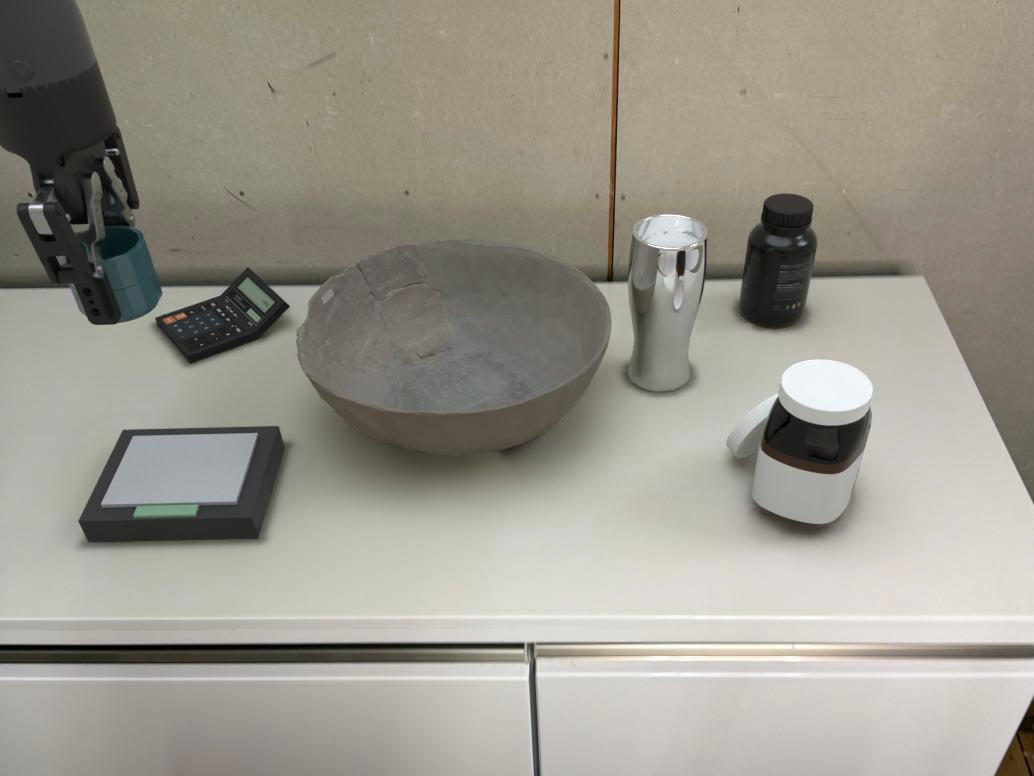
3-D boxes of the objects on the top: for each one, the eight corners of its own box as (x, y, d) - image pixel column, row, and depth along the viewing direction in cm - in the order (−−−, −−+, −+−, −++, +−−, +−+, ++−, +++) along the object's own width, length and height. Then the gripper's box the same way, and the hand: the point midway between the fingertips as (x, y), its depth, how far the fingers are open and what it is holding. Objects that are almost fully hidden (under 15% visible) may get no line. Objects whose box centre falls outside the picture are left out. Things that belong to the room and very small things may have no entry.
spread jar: (827, 551, 76) (858, 435, 68) (695, 506, 80) (709, 392, 72) (869, 465, 83) (901, 351, 75) (746, 428, 88) (764, 316, 79)
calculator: (157, 324, 103) (148, 299, 100) (257, 290, 107) (251, 265, 105) (190, 363, 97) (182, 338, 95) (294, 325, 102) (288, 300, 100)
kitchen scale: (88, 542, 79) (75, 517, 77) (131, 450, 87) (121, 425, 85) (258, 538, 78) (250, 513, 77) (284, 446, 87) (278, 422, 85)
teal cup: (70, 327, 70) (44, 265, 67) (96, 286, 75) (73, 226, 71) (151, 325, 70) (129, 262, 67) (173, 284, 75) (153, 223, 71)
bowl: (372, 314, 103) (358, 227, 96) (627, 338, 99) (631, 248, 92) (270, 478, 84) (243, 384, 77) (580, 517, 79) (582, 421, 72)
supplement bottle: (810, 302, 103) (831, 194, 95) (795, 334, 99) (816, 224, 90) (747, 290, 105) (763, 183, 97) (730, 321, 101) (745, 212, 92)
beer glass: (643, 402, 91) (653, 256, 80) (610, 364, 95) (616, 221, 85) (707, 384, 93) (725, 239, 82) (672, 348, 97) (685, 206, 87)
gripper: (16, 28, 66) (100, 254, 77) (-78, 105, 55) (36, 353, 67) (125, 24, 66) (193, 251, 77) (51, 101, 55) (143, 350, 67)
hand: (120, 298), depth 72 cm, fingers closed on teal cup, 6 cm apart
